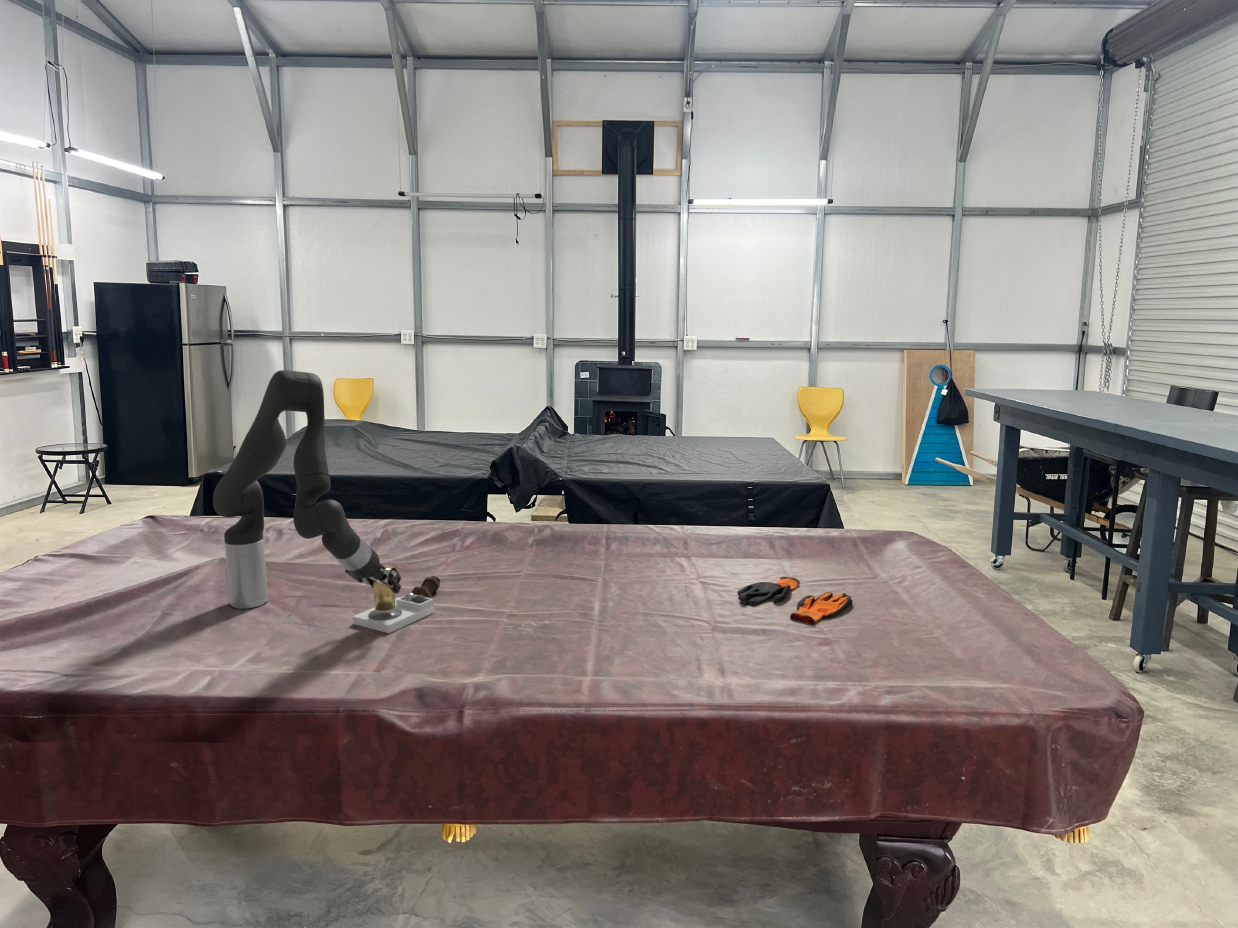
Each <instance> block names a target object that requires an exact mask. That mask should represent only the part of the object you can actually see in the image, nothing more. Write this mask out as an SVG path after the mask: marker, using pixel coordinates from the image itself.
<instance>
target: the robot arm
mask: <svg viewBox="0 0 1238 928" xmlns="http://www.w3.org/2000/svg"><path fill="white" fill-rule="evenodd" d="M323 386H324V385H323V382H322V379H321V378H320V377H319V375H317V374H316V373H313V372H306V371H296V370H289V369H288V370H286V369H284V370H283V369H282V370H277V371H276V372H275V373H273V375H272V376H271V378H270V380H269V382H268V385H267V386H266V390H265V392H264V395H263V397H262V401H261V404H260V406H259V409H258V411H257V414H256V416H255V418H254V420H253V422H252V424H251V426H250V428H249V430H248V431H247V433H246V434H245V437H244V439H243V441H242V443H241V445H240V447H239V449H238V452H237V453H236V456H235V457H234V459H233V460H232V462H231V464H230V465H229V468H228V469H227V471H226V472H225V474H224V475H223V476H222V477H221V479H220V480H219V482H218V483H217V484H216V487H215V489H214V492H213V497H212V505H213V506H212V507H213V509H214V511H215V512H216V514H218V516H220V517H223V518H234V517H240V516H241V517H240V519H239V520H238V521H237V522H236V523H235V524H234V525H232V526H231V527H229V528H227V529H226V530H225V531H224V533H223V537H224V538H223V539H224V549H225V560H226V568H225V570H224V573H225V582H226V583H225V584H226V593H227V603H228V602H230V603H229V605H231V606H232V608H233V607H234V609H240V610H242V609H244V610H245V609H251V608H252V609H253V608H256V607H261V606H263V605H264V604H263V603H265V602H266V601H267V600H268V601H269V595H268V594H269V593H268V581H267V580H268V579H267V568H266V555H265V554H266V553H265V545H264V531H265V512H264V510H265V508H264V507H265V506H264V504H265V501H264V493H263V492H264V491H263V489H262V486H261V484H260V482H259V481H258V480H259V479H261V478H262V477H264V476H265V475H267V473H269V472H270V471H272V470H273V469H274V468H275V467H276V466H277V464H278V462H279V461H280V459H281V458H282V456H283V454H284V453H285V449H286V448H287V447H286V446H287V437H286V434H285V431H284V429H283V427H282V425H281V423H280V420H279V418H280V415H281V413H283V412H299V413H300V412H301V413H306V414H305V415H306V421H307V422H306V423H307V424H306V428H305V431H304V433H303V435H302V438H301V440H299V443H298V445H297V447H296V449H295V452H294V456H293V470H294V476H295V482H296V495H295V504H294V510H293V526H294V529H295V531H296V532H297V534H298V535H299V536H300V537H302V538H303V539H308V540H309V539H314V538H318V537H320V536H321V542H322V545H323V547H324V548H325V549H326V550H327V551H328V552H329V553H330V554H331V555H332V556H333V558H335V559H336V560H337V562H338V563H339V564H340V565H341V566H342V567H343V568H344V569H345V570H344V573H346V574H347V575H348V576H349V577H351V578H353V579H354V580H356V581H357V582H358V583H359V584H363V583H364V584H365V585H368V586H370V587H371V588H372V589H373V580H375V581H377V582H378V583H380V584H385V585H387V586H388V587H389V588H390V589H391V590H392V591H393V592H394V593H395V594H396V595H398V594H399V593H400V591H401V589H402V585H401V584H400V582H401V580H402V576H401V575H400V573H399V571H398V569H397V568H396V567H393V568H392V569H391V570H388V569H386V568H385V567H384V566H385V565H382V564H381V562H380V556H379V555H378V554H379V553H377V552H376V551H375V550H374V549H373V548H372V547H371V545H370V544H368V543H367V541H366V540H365V539H364V538H362V536H360V535H358V533H356V531H354V529H353V528H352V527H351V525H350V523H349V520H348V519H347V517H346V513H345V510H344V508H343V505H342V504H341V503H340V502H338V501H336V500H334V499H325V500H321V501H318V502H317V500H318V499H319V498H321V497H322V496H323V495H325V494H326V493H328V492H329V491H330V490H331V486H332V485H331V484H332V483H331V478H330V472H329V466H328V463H327V462H328V461H327V453H326V447H325V446H326V442H325V441H326V440H325V439H326V438H325V436H326V435H325V433H326V432H325V431H326V429H325V427H326V426H325V425H326V423H325V420H326V417H325V395H324V393H325V392H324V387H323ZM383 575H384V576H383ZM381 579H382V580H381ZM388 579H390V582H388V581H387V580H388ZM262 604H263V605H262ZM265 604H266V603H265ZM231 606H230V607H231Z"/></svg>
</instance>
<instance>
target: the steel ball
mask: <svg viewBox="0 0 1238 928" xmlns="http://www.w3.org/2000/svg"><path fill="white" fill-rule="evenodd" d="M415 597H416V596H415V595H414V594H413V593H411V592H406V594H405V595H404V600H405V601H410V602H414V598H415Z"/></svg>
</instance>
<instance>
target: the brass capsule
mask: <svg viewBox="0 0 1238 928" xmlns="http://www.w3.org/2000/svg"><path fill="white" fill-rule="evenodd" d="M383 566H384V567H385V568H386V569H388V570H391V569H392V568H394V566H392V565H383ZM383 576H384V575H383ZM381 580H382V579H381ZM387 581H388V582H390V579H388V580H387ZM372 589H373V605H374V607H373V608H375V610H378V611H387V610H391V609H394V608H395V599H396V593H394V592H393V591H392V590H391V589H390V588H389V587H388V586H387V585H385V584H380V583H378V582H377V581H375V580H373V588H372Z"/></svg>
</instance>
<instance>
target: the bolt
mask: <svg viewBox="0 0 1238 928" xmlns="http://www.w3.org/2000/svg"><path fill="white" fill-rule="evenodd" d="M440 586H441V580H440V578H439V577H437V576H434V575H432V576H429V577H428V576H427V577H425V579H424V580H423V581H422V584H421V585H420V586H414V588H413V589H412V590H411V592H410V593H413V594H414V595H423V596H424V597H427V598H431V599H432V597H433V596H432V595H433V594H436V593H437V591H438V590H439V588H440Z"/></svg>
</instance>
